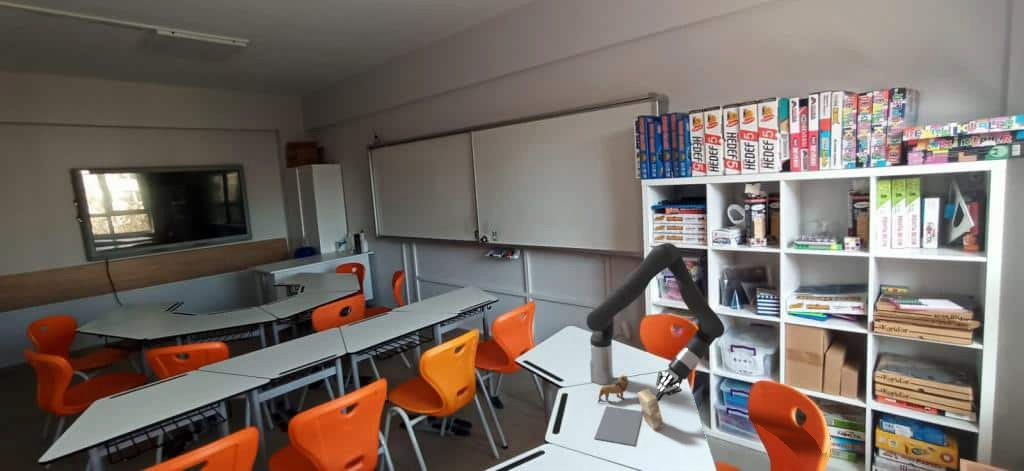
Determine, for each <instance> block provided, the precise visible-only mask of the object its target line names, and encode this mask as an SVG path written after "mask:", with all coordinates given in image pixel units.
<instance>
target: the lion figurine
mask: <svg viewBox="0 0 1024 471" xmlns="http://www.w3.org/2000/svg"><path fill="white" fill-rule="evenodd" d="M628 385H629V379H628V376H627V375H625V374H623V375H621V376H618V380H617V382H616V383H615V384H610V385H609V384H603V386H602V387H601V388H600V390H599V394H598V401H597V404H599V403H600V401H601V402H602V399H603V398H602V396H603V395H604V396H605V398H604V399H605V401H606V402H607V403H608V404H611V403H612V401H611V400H609V396H610V394H612V395H615V394H616V398H620V400H622V401H624V400H625V398H624V393H625V391H626V390H627V389H628Z"/></svg>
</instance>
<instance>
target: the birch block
mask: <svg viewBox="0 0 1024 471" xmlns="http://www.w3.org/2000/svg"><path fill="white" fill-rule="evenodd" d="M653 394H654V393H652V392H651V391H650V389H648V388H645V389H643V390H640V391H639V392H637V396H638V400H639V404H640V407H641V411H642V412H643V413H642V417H643V419H644V422H645V423H646V424H647V425H648V426H649V427H650V428H651V429H652V430H653V432H654V431H657V430H660V429H662V428H664V427H665V424H664V420H663V417H662V413H661V410H660V409H661V408H660V405H659V401H658V400H657V398H656V397H655V396H654V395H653Z"/></svg>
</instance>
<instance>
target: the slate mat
mask: <svg viewBox="0 0 1024 471" xmlns="http://www.w3.org/2000/svg"><path fill="white" fill-rule="evenodd" d="M642 417H643V412H642V410H635V409H630V408H629V409H627V408H622V407H616V406H615V407H614V406H608V405H606V406H605V408H604V412H603V414H602V416H601V419H600V423H599V425H598V428H597V430H596V434H595V436H594V438H593V439H594V440H596V441H604V442H609V443H614V444H619V445H626V446H631V447H636V442H637V438H638V434H639V430H640V425H641V421H642Z"/></svg>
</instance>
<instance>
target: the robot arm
mask: <svg viewBox="0 0 1024 471" xmlns="http://www.w3.org/2000/svg"><path fill="white" fill-rule="evenodd" d="M683 258H684V257H682V254H681V252H680V250H679V249H678V247H677V246H676V245H675V244H673V243H671V242H665V243H661V244H659V245H655V246H654V247H653V248H652V249H651V250H650V251H649V253H648V254H647V255H646V256H645V258H644V259H643V260H642V261H641V262H640V264H639V265H638V266H637V267H636V268H634V270H632V271H631V272H629V274H628V275H627V276H625V278H623V279H622V280H621V281H620V282H618V283H619V284H617V285H616V287H614V289H613V290H612V291H611V292H610V294H609V295H608V296H607V297H606V298H605V300H604V301H603V302H602V303H600V304H599V305H598V306H597V307H596V308H594V309H593V310H591V311H590V312H589V313H588V314H587V316H586V321H585V322H586V325H587V328H588V329H590V330H591V332H592V333H591V335H590V341H589V342H590V361H589V366H590V367H589V369H590V382H593V383H595V384H599V385H609V384H611V383H613V381H614V373H613V372H614V371H613V369H614V366H613V364H614V363H613V341H612V340H613V338H614V318H615V316H616V315H618V314H619V313H620V312H622V311H623V310H624V309H627V307H629V306H631V305H632V303H634V302H635V301H636V300H637V299H638V298H639V297H641V296H642V294H644V292H645V291H646V289H647V288H648V286H649V284H650V283H651V281H652V280H653V279H654V278H655V277H657V275H659V274H660V273H661V272H663V271H664V270H667V269H668V271H669V272H670V273H671V275H672V276H673V278H674V280H675V282H676V285H677V288H678V291H679V294H680V297H681V299H682V300H683V303H684V304H685V305H686V307H687V309H688V310H689V312H690V313H691V314H692V316H693V317H695V318H696V319H697V322H698V323H699V324H700V325H699V327H698V328H697V329H696V331H695V333H694V335H693V336H692V338H690V339H689V340H688V341H687V343H686V344H685V345H684V347H683V348H682V349H681V350H679V351H678V353H677V354H676V355H675V357H673V359H672V360H671V361H670V362H669V363H668V369H666V370H664V372H662V371H658V373H657V377H656V382H655V385H656V387H657V388H656V390H655V392H654V393H652V394H653V395H654V396H655V397H656V398H657V400H658V402H660V401H661V400H662V398H663V397H664V396H666V395H667V396H668V397H669V396H672V395H675V394H678V393H680V392H683V391H682V390H683V389H682V388H681V384H682V382H683V381H684V380H687V379H688V378H689V376H690V375H691V374H692V372H694V370H695V369H696V368H697V366H698V365H699V363H700V362H701V361H702V359H703V358H704V357H705V355H706V354H707V353H708V351H709V348H710V346H712V344H713V342H714V341H715V340H716V339H719V338H721V337H722V336H724V334H725V330H726V329H725V325H724V323H723V321H722V319H720V317H719V316H718V315H717V313H716V312H715V311H714V309H712V308H711V307H710V305H709V303H708V302H707V300H706V299H705V297H704V295H703V294H702V292H701V290H700V289H699V287H698V285H697V283H696V282H695V281H694V279H693V277H692V275H691V273H690V271H689V269H688V268H687V265H686V263H685V260H684V259H683Z"/></svg>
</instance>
